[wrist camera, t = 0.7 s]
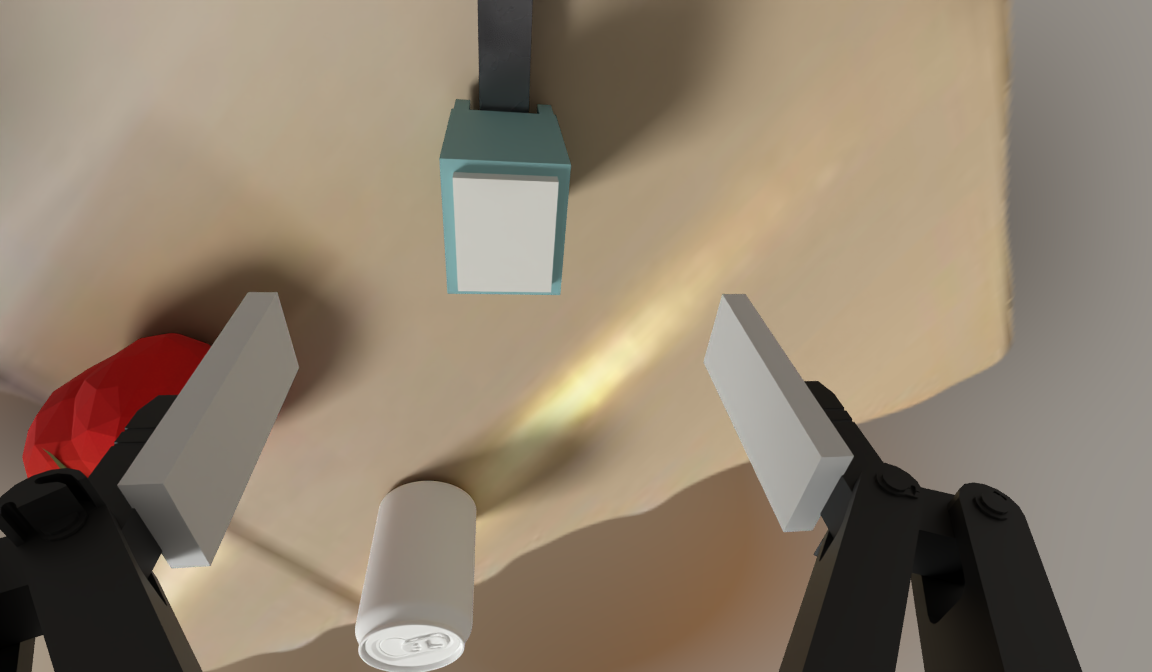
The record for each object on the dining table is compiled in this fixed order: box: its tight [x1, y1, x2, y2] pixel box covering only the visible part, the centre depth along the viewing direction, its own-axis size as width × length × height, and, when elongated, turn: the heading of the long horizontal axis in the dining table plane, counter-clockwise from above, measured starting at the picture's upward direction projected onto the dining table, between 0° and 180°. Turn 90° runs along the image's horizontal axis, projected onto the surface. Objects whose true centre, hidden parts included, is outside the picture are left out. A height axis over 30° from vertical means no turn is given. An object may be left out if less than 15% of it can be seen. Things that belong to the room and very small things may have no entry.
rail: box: [478, 0, 533, 113], centre depth 27 cm, size 2×17×2 cm, turn 175°
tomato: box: [23, 333, 211, 478], centre depth 33 cm, size 11×13×10 cm
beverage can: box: [355, 481, 476, 672], centre depth 43 cm, size 8×8×12 cm
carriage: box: [439, 99, 571, 295], centre depth 26 cm, size 5×6×9 cm
